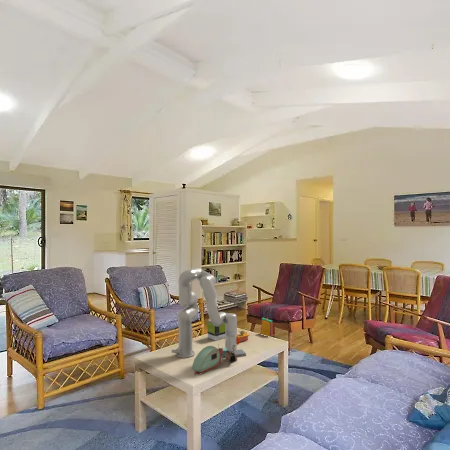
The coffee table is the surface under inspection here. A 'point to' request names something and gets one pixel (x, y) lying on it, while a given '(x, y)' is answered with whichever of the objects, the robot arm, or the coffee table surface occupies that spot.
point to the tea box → (215, 331)
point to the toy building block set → (265, 329)
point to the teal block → (224, 352)
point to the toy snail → (207, 359)
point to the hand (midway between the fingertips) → (231, 359)
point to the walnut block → (228, 356)
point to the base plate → (240, 353)
